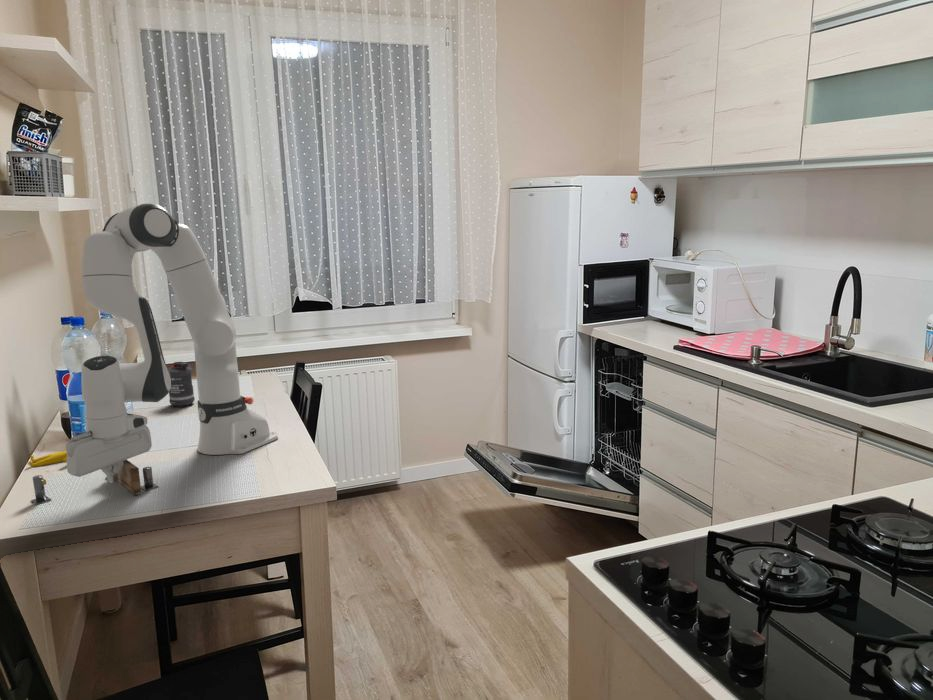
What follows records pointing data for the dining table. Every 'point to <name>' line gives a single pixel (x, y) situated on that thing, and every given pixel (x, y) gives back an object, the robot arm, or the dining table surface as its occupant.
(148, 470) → the post
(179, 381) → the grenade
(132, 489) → the gate
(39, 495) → the latch stile
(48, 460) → the figurine
